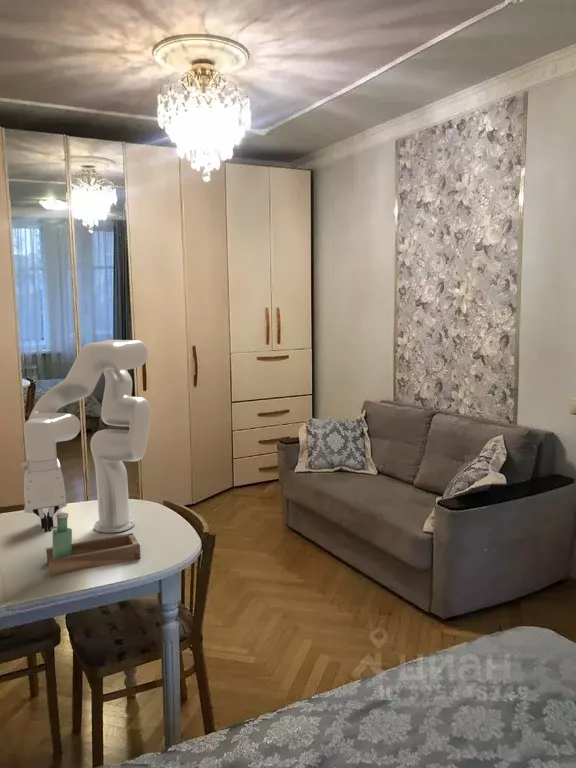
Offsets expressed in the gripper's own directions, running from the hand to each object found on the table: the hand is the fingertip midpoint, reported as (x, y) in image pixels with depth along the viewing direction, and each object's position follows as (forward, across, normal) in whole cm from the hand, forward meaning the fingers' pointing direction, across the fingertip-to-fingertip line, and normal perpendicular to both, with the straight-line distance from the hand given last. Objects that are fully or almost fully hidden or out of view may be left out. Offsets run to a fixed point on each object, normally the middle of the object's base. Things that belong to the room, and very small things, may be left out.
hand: (47, 530), depth 172 cm
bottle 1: (+11, +3, +36) cm, 38 cm away
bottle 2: (+11, +3, 0) cm, 11 cm away
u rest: (+11, +11, 0) cm, 15 cm away
